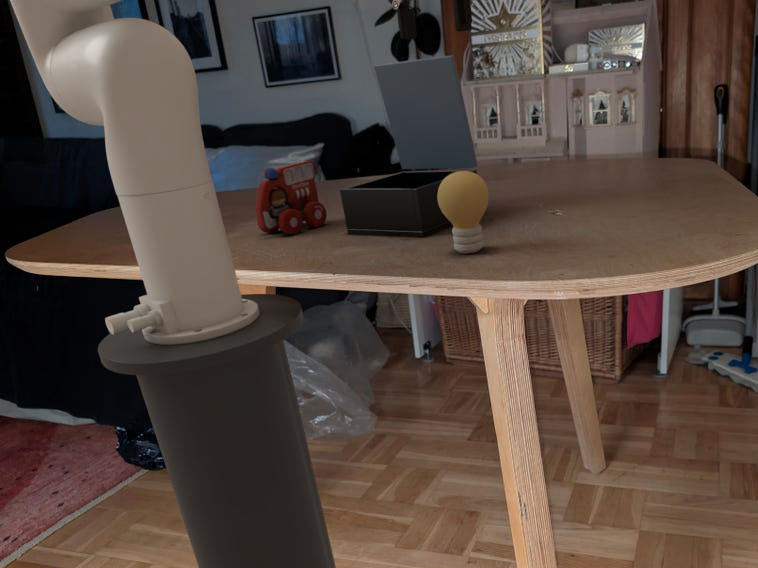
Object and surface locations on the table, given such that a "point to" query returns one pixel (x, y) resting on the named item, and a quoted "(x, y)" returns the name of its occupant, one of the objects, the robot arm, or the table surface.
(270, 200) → the toy fire truck
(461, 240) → the light bulb
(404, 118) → the lid
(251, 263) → the table surface
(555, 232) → the table surface
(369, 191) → the compartment
